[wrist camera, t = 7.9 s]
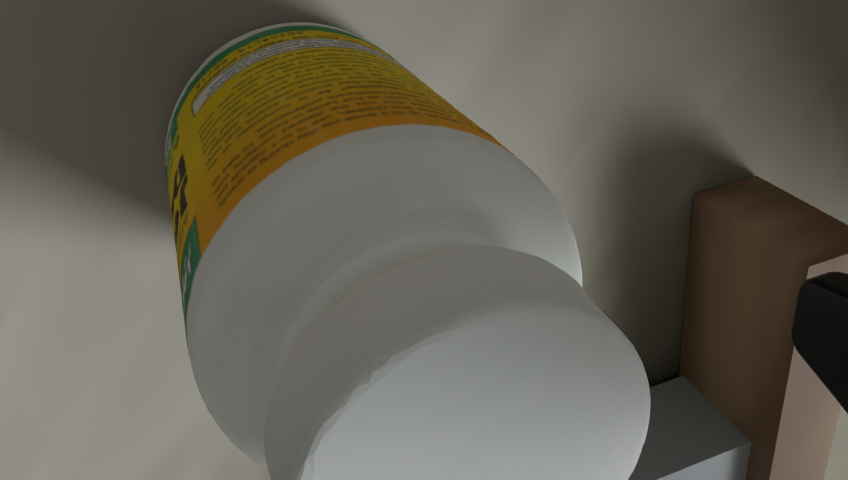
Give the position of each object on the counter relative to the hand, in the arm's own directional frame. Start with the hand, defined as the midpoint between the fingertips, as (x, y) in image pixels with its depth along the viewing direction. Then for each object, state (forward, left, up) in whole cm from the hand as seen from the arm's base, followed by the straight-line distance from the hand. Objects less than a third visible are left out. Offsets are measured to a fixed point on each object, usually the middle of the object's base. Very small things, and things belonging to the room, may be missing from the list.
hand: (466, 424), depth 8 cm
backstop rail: (-11, +15, -9) cm, 21 cm away
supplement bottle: (0, 0, -9) cm, 9 cm away
